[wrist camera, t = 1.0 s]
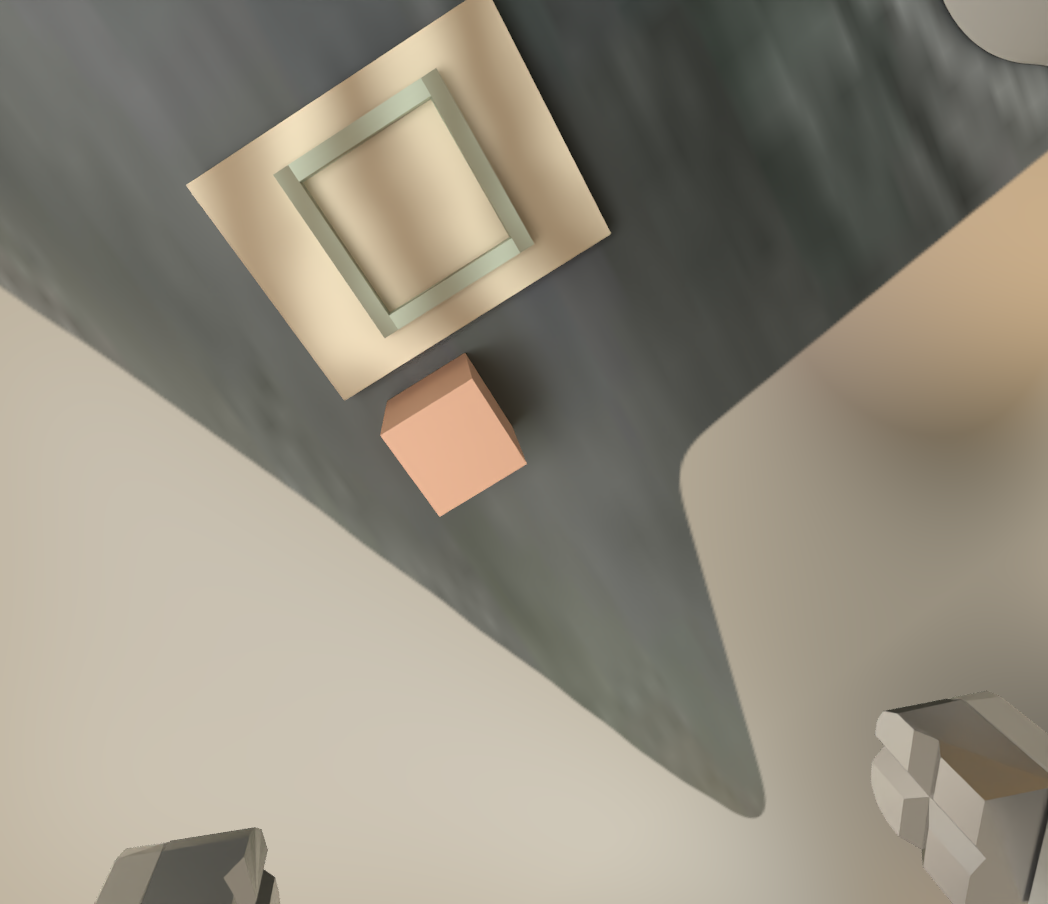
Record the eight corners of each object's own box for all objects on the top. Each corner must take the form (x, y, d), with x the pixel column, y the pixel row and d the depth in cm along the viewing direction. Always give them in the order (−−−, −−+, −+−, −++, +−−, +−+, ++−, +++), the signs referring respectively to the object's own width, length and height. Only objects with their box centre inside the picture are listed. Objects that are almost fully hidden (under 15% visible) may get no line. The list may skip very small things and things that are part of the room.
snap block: (464, 352, 37) (471, 378, 31) (512, 426, 38) (526, 463, 33) (387, 400, 37) (380, 435, 31) (437, 471, 39) (439, 516, 33)
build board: (483, -3, 31) (487, -20, 29) (603, 232, 35) (616, 234, 33) (196, 186, 32) (178, 184, 30) (347, 393, 36) (342, 406, 34)
